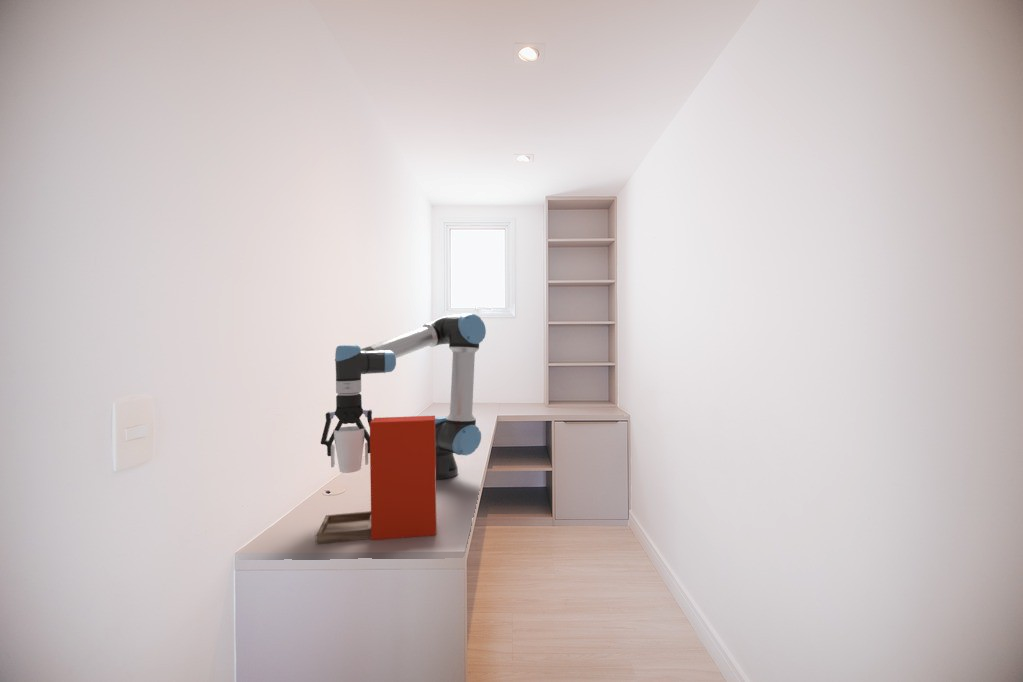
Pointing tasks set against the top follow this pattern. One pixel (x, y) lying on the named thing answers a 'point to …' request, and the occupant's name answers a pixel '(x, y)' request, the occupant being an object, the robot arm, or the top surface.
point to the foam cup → (349, 448)
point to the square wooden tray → (345, 527)
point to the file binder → (403, 477)
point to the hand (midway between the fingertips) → (350, 464)
